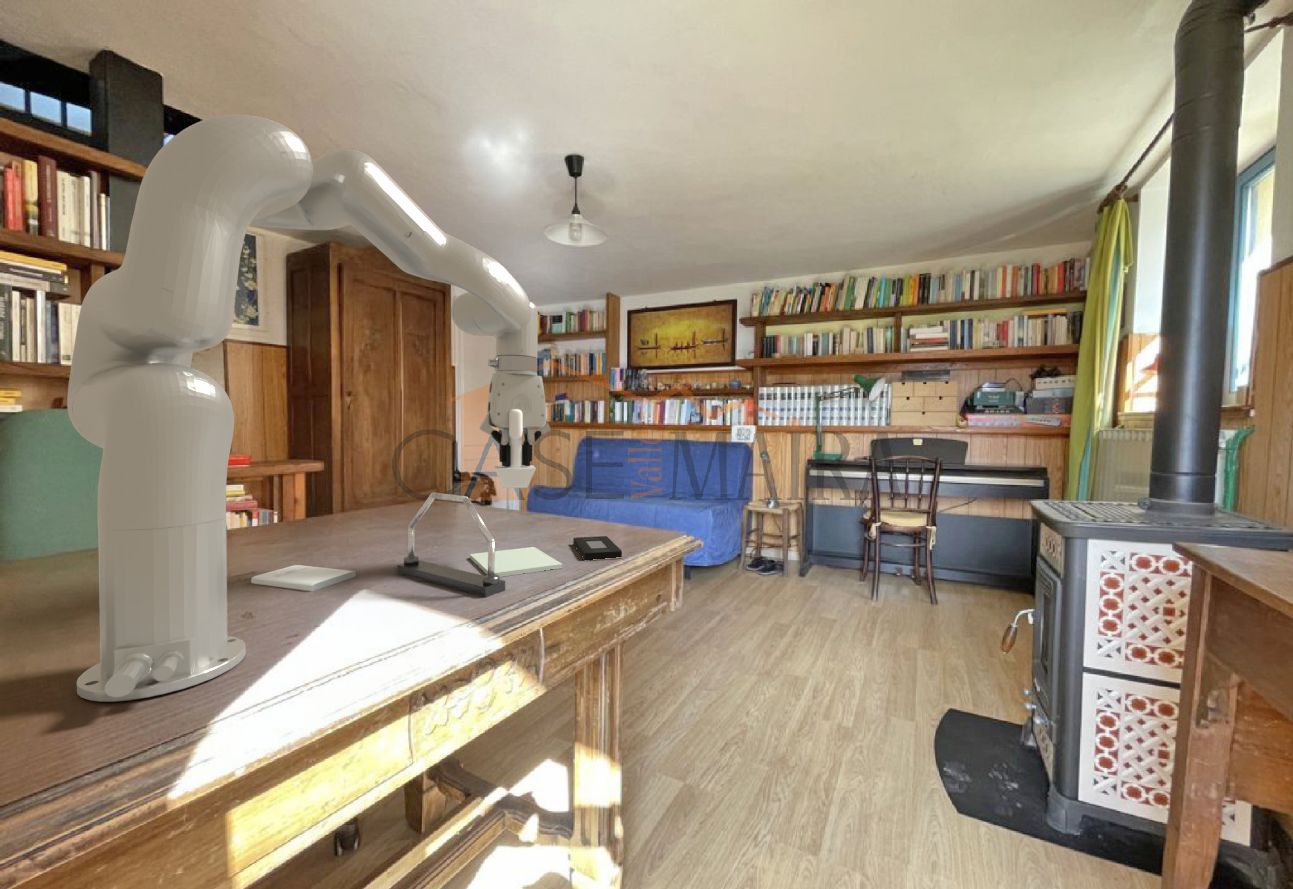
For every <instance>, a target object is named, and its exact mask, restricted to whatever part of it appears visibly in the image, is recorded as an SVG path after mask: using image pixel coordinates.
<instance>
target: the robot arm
mask: <svg viewBox="0 0 1293 889" xmlns="http://www.w3.org/2000/svg"><path fill="white" fill-rule="evenodd" d="M134 207H135V208H134V212H133V216H132V219H131V224H130V228H129V235H128V239H127V245H126V249H125V255H124V258H123V260H122V264H121V265H120V267H119V268H117V269H115V270H113V271H111V272H109V273H107V274H104V275H103V276H102V277H99V278H98V279H97V280H96V281H95V282H94V283H93V284H92V285H91V286H90V287H89V290H88V291H87V293H86V294H85V296H84V298H83V300H82V303H81V305H80V306H81V307H80V310H79V314H78V318H77V319H78V320H77V326H76V332H75V337H74V338H75V340H74V345H73V350H72V352H73V353H72V359H71V365H70V366H71V367H70V372H69V373H70V374H69V380H68V385H67V386H68V387H67V398H66V399H67V400H66V402H67V404H66V405H67V413H68V417H69V420H70V422H71V424H72V426H73V428H74V429H75V430H76V432H77V433H79V435H80V436H81V437H82V438H84V439H85V440H87V441H88V442H89V443H91V444H93V445H95V446H96V447H98V448H101V449H102V455H101V462H100V470H99V476H98V483H97V501H96V502H97V508H96V509H97V510H96V511H97V513H96V515H97V534H98V537H97V538H98V540H97V542H98V547H97V548H98V583H99V584H98V594H99V595H98V596H99V599H98V600H99V601H98V602H99V603H98V604H99V606H98V608H99V651H100V652H99V654H100V655H99V660H100V662H98V663H96V664H94V665H92V666H90V667H89V668H88V669H87V670H85V671H83V673H81V675H80V676H79V677H78V678H77V680H76V694H77V695H78V696H79V697H80V698H83V699H85V700H88V701H92V702H107V703H108V702H110V703H111V702H114V703H115V702H125V701H127V702H128V701H133V700H140V699H145V698H151V697H155V696H160V695H161V696H162V695H165V694H169V693H173V692H177V691H180V690H181V691H182V690H184V689H187V688H191V687H192V686H196V685H199V684H201V683H204V682H207V681H210V680H211V679H214V678H216V677H219V676H221V675H223V674H224V673H226V672H228V671H229V670H231V669H233V668H234V667H236V666H237V665H238V664H240V663H241V661H242V660H243V659H244V658H245V656H246V652H247V650H246V642H244V640H242V639H240V638H238V637H235V636H232V635H231V636H230V635H228V585H227V584H228V583H227V582H228V581H227V580H228V579H227V578H228V571H227V570H228V569H227V564H228V563H227V558H228V556H227V478H228V466H229V458H230V453H231V448H232V443H233V437H234V432H235V431H234V429H235V414H234V413H235V412H234V409H233V405H232V404H233V403H232V402H231V399H230V398H229V396H228V394H227V392H226V391H225V389H224V388H223V386H221V385H220V384H219V382H217V381H216V380H215V379H213V378H212V377H211V376H209V375H207V373H204V372H203V371H200V370H199V369H196V368H193V367H191V366H192V362H193V355H194V354H193V353H197V352H201V351H205V350H209V349H211V348H214V347H216V346H217V345H219V344H220V343H222V342H223V341H225V339H226V338H227V337H228V335H229V334H230V331H231V330H232V327H233V326H232V325H233V321H234V315H235V305H236V304H235V303H236V296H237V294H236V293H237V288H238V287H237V285H238V277H239V271H240V270H239V269H240V260H241V254H242V250H243V247H244V240H245V237H246V234H247V231H248V228H249V227H261V228H275V229H286V230H288V229H289V230H303V231H304V230H307V231H330V230H336V229H337V230H338V229H341V228H344V227H347V226H352V227H353V229H355V230H356V231H357V232H359V233H360V234H361V235H362V236H363V237H365V239H367V240H368V241H369V242H370V243H371V244H372V245H374V246H375V247H376V248H377V250H379V251H380V252H381V253H383V255H384V256H386V257H387V258H388V259H389V260H390V261H391V262H392V263H393V264H395V265H396V266H397V267H398V268H399V269H400V270H402V272H404V273H406V274H409V275H412V276H414V277H418V278H421V279H425V280H429V281H434V282H439V283H444V284H446V285H447V284H448V285H450V286H454V287H457V288H460V289H462V290H464V291H466V292H463V293H462V294H460V295H459V296H456V298H455V299H454V300H453V302H452V304H451V307H450V315H451V318H452V321H453V323H454V324H455V325H456V327H457V328H458V329H459V330H461V331H462V332H464V333H466V334H468V335H472V336H482V337H484V336H485V337H489V336H490V337H494V338H495V339H496V340H495V357H494V358H492V359H490V358H489V359H488V361H487V366H488V367H489V368H493V369H494V372H495V373H492V375H491V380H490V384H489V391H488V399H487V409H486V411H487V412H486V415H485V417H484V419H483V420H482V423H481V424H480V426H479V430H481V432H483V433H485V434H487V435H489V436H491V438H493V439H494V441H495V442H497V444H498V445H499V448H498V449H499V450H498V452H499V457H498V458H499V463H501V466H505V467H509V466H510V465H511V446H510V445H509V442H508V436H509V412H510V411H511V410H513V409H518V410H521V411H522V425H523V432H522V437H523V441H522V465H523V466H530V465H531V462H532V461H533V445H535V443H536V441H538V439H540V437H541V436H542V435H545V434H547V433H549V432H550V431H551V427H550V425H549V422H548V421H547V408H546V395H545V389H544V388H545V386H544V381H543V376H541V375H538V334H539V332H538V329H539V328H538V326H539V325H538V324H539V323H538V322H539V314H538V311H539V310H538V307H537V306H536V304H535V303H534V302H532V301H530V299H529V296H528V295H527V293H526V291H525V290H524V288H523V287H522V286H521V284H520V283H519V282H518V281H517V279H516V278H515V277H514V276H513V275H512V274H511V273H510V272H509V271H508V269H507V268H506V267H504V266H503V265H502V264H501V263H500V262H499V261H497V260H496V259H495V258H493V257H492V256H490V255H489V254H488V253H485V252H484V251H482V250H480V249H478V248H476V247H474V246H472V245H470V244H469V243H467V242H465V241H463V240H461V239H459V238H457V237H455V236H453V235H451V234H449V233H446V232H445V231H444V230H443V229H441V228H440V227H439V226H438V225H437V224H436V223H435V222H434V221H433V220H432V219H431V217H429V216H428V214H426V212H425V211H424V210H423V209H422V208H421V207H420V206H419V205H418V204H417V203H416V202H415V201H414V200H413V199H412V198H411V197H410V196H409V194H407V193H406V192H405V190H404V189H403V188H402V187H401V186H400V185H399V184H398V183H397V182H396V181H395V180H394V179H393V178H392V176H390V174H388V172H386V171H385V169H383V167H382V166H381V165H379V163H377V161H375V160H374V159H373V158H372V157H371V156H370V155H368V154H366V153H364V152H363V151H360V150H357V149H353V148H352V149H351V148H346V149H345V148H344V149H339V150H335V151H332V152H328V153H326V154H323V155H321V156H320V157H319V156H318V158H315V159H313V160H312V156H311V153H310V150H309V148H308V147H307V145H306V143H305V142H304V141H303V139H302V138H301V137H300V136H299V135H298V134H297V133H295V131H293V130H292V129H290V128H289V127H287V126H286V125H284V124H283V123H280V122H279V121H275V120H272V119H269V118H267V117H262V116H259V115H252V114H225V115H217V116H216V115H215V116H213V117H209V118H206V119H202V120H200V121H198V122H195V123H194V124H192V125H189V126H188V127H186V128H184V129H182V130H181V131H179V133H177V134H176V135H174V136H173V137H172V138H171V139H170V140H168V141H167V142H166V143H165V144H164V145H163V146H162V147H161V148H160V149H159V150H158V151H157V153H156V154H155V156H154V157H153V158H152V160H151V162H150V163H149V165H148V167H147V169H146V171H145V173H144V175H143V177H142V179H141V183H140V186H139V190H138V193H137V197H136V201H135V206H134ZM494 428H497V430H496V429H494ZM535 429H536V430H535Z"/></svg>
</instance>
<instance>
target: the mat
mask: <svg viewBox="0 0 1293 889" xmlns="http://www.w3.org/2000/svg"><path fill="white" fill-rule="evenodd" d="M469 559H470V560H471V561H472V562H473V563H474V564H475V565H476V566H477V565H478V566H477V567H478V568H479V569H480V570H482V571H483V573H485V574H486V575H488V551H485V552H477V553H469ZM550 569H553V570H559V569H563V563H561V562H560V561H558V560H557V559H555V558H553V557H551V556H550V555H548V554H546V553H545V552H543V551H542V550H540V549H539V548H537V547H535V546H530V547H522V548H513V549H503V550H495V574H496V575H499V578H501V577H502V578H504V577H509V576H516V575H523V573H525V574H531V573H537V572H544V570H546V571H551V570H550Z"/></svg>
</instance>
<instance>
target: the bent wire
mask: <svg viewBox="0 0 1293 889" xmlns="http://www.w3.org/2000/svg"><path fill="white" fill-rule="evenodd" d="M435 499H436V500H443V501H450V502H451V501H452V502H457V503H463V504H464V506H465V507H466V509H467V510H468V512H469V514H470V515H471V517H472V519H473V521H474V522H475V524H476V526H477V527H478V529H479V531H480V532H481V534H482V535H483V537H484V538H485V540H486V541H487V552H488V575H487V574H486V575H485V574H483V575H482V574H478V573H474V572H471V571H466V570H462V569H457V568H453V567H448V566H446V565H440V564H437V563H433V562H428V561H423V560H420V557H419V556H418V555H415V536H416V535H415V533H416V532H415V527H416V526H417V525H418V523H419V522H420V521H421V518H423V516H424V515H425V513H426V512H427V510H428V509H429V508H430V506H431V505H432V503H433V502H434V501H435ZM407 528H408V529H407V531H408V532H407V533H408V534H407V536H408V537H407V539H408V540H407V542H408V543H407V544H408V545H407V548H408V549H407V556H405V557H403V563H399V564H397V565H396V573H397V574H398V575H402V576H406V577H409V578H413V579H417V580H420V581H424V582H428V583H432V584H435V585H439V586H443V587H446V588H450V589H453V590H457V591H461V592H463V593H464V592H465V593H467V594H472V595H475V596H476V595H477V596H479V597H483V598H487V597H490V596H493V595H495V594H499V593H501V592H504V591H506V580H504V579H500V577H499V575H496V574H495V551H496V550H495V549H496V548H495V546H496V544H495V543H496V540H495V538H494V537H493V535H492V534H491V532H490V530H489V529H488V527H487V525H486V524H485V523H484V520H483V519H482V517H481V516H480V514H479V512H478V511H477V510H476V508H475V506H474V505H473V502H472V501H471V500H470V498H469V497H468V496H466V495H460V494H459V495H457V494H449V493H442V492H441V493H440V492H431V493H430V495H429V496H428V497H427V499H426V500H425V501H424V503H423V504H422V506H421V507H420V509H419V510H418V511H417V513H416V514H415V516H414V517H413V519H412V520H411V521H410V523H409V524H408V527H407Z"/></svg>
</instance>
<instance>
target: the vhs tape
mask: <svg viewBox="0 0 1293 889" xmlns="http://www.w3.org/2000/svg"><path fill="white" fill-rule="evenodd" d="M572 541H573V542H572V543H573V544H574V545H575V546H574V545H573V546H574V548H575V547H576V548H577V549H578V550H577V549H576V550H577V552H578V551H579V552H580V553H579V552H578V553H579V555H580V554H581V555H582V556H583V558H584V559H583V558H582V559H583V561H584V560H590V561H591V560H593V559H605V558H616V557H622V558H623V552H622V549H621V548H619V546H617V545H616V544H615V543H614V542H613V541H612V540H611V538H610V537H608V536H607V535H604V536H602V535H599V536H582V537H581V536H580V537H573V540H572ZM581 555H580V556H581ZM582 556H581V557H582ZM593 561H594V560H593Z"/></svg>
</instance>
